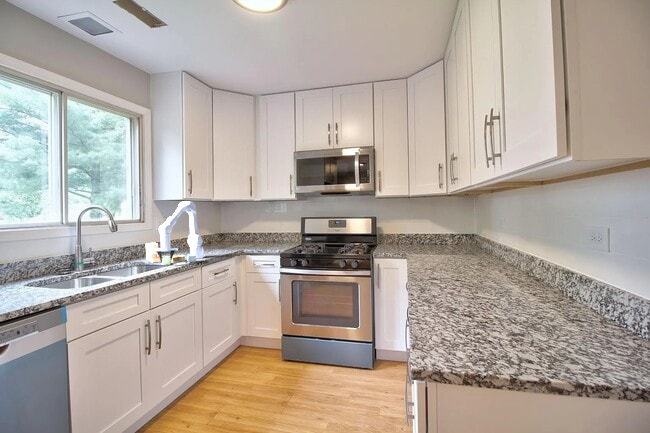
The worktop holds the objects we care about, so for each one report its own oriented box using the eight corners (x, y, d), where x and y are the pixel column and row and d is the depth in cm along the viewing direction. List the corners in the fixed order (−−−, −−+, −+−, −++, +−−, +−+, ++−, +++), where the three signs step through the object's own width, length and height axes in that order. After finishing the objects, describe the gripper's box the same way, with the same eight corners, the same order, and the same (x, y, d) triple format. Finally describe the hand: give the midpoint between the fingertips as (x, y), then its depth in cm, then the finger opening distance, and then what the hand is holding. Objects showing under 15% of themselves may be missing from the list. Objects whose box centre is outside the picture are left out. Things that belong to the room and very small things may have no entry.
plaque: (187, 262, 207) (187, 261, 207) (189, 264, 200) (189, 263, 200) (173, 264, 203) (173, 263, 203) (174, 266, 195) (174, 265, 195)
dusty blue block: (194, 261, 214) (194, 254, 214) (196, 262, 210) (195, 255, 210) (187, 261, 212) (187, 254, 211) (188, 263, 207) (188, 255, 207)
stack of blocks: (161, 261, 213) (160, 244, 212) (151, 263, 208) (151, 245, 208) (155, 258, 229) (155, 242, 229) (146, 259, 225) (145, 243, 225)
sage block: (169, 263, 207) (169, 256, 206) (170, 264, 202) (170, 257, 202) (161, 264, 204) (161, 256, 204) (162, 265, 200) (162, 257, 200)
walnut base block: (182, 260, 220) (182, 254, 220) (184, 261, 213) (184, 256, 213) (170, 261, 215) (170, 256, 215) (172, 263, 209) (172, 257, 208)
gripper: (153, 243, 195) (154, 264, 196) (177, 242, 203) (178, 261, 203) (153, 242, 201) (153, 262, 202) (176, 241, 209) (177, 260, 209)
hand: (166, 262), depth 203 cm, fingers closed on sage block, 5 cm apart
